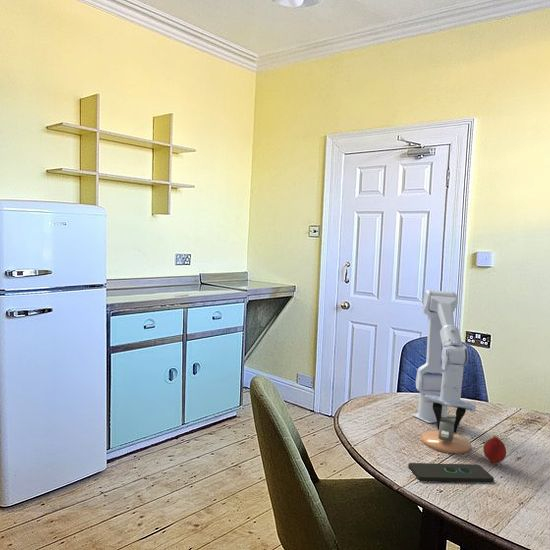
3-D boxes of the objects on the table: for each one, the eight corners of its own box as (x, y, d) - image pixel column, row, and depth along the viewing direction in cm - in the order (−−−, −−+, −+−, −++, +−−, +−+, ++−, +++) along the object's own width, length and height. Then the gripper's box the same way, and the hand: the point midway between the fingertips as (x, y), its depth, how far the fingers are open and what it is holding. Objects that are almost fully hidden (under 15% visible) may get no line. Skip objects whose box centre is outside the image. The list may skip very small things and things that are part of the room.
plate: (443, 432, 163) (443, 428, 163) (480, 449, 151) (481, 445, 151) (411, 438, 156) (412, 434, 156) (448, 456, 144) (448, 452, 144)
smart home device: (495, 478, 130) (419, 476, 127) (494, 484, 130) (419, 483, 128) (478, 463, 138) (407, 462, 136) (478, 469, 138) (407, 468, 136)
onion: (503, 461, 143) (506, 433, 143) (505, 470, 138) (509, 441, 137) (481, 457, 145) (484, 430, 145) (482, 465, 140) (485, 437, 139)
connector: (441, 428, 159) (443, 413, 158) (455, 431, 157) (456, 415, 157) (436, 442, 147) (438, 425, 147) (450, 445, 146) (452, 428, 145)
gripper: (424, 384, 152) (420, 428, 153) (476, 393, 146) (471, 440, 147) (427, 379, 158) (423, 421, 159) (478, 387, 152) (473, 432, 153)
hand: (447, 430), depth 153 cm, fingers closed on connector, 4 cm apart
